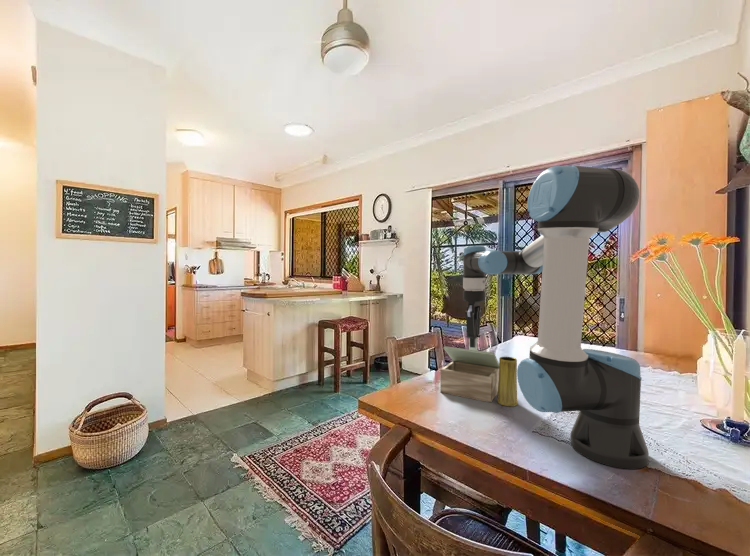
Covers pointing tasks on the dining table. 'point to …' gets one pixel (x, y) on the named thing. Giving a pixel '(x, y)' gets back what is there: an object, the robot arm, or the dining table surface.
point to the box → (470, 380)
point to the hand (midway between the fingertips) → (473, 355)
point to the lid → (472, 356)
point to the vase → (507, 381)
